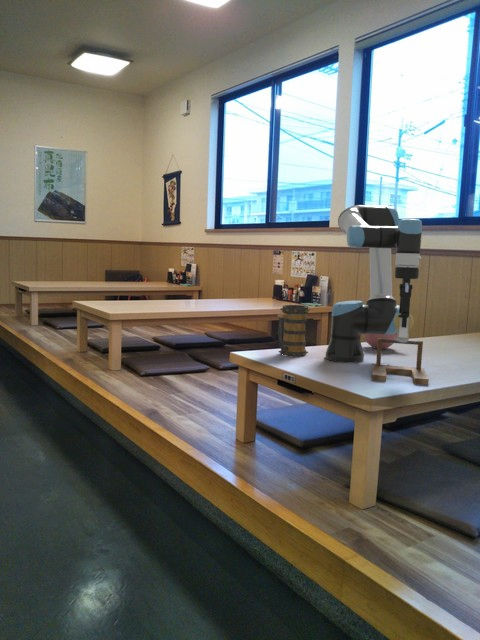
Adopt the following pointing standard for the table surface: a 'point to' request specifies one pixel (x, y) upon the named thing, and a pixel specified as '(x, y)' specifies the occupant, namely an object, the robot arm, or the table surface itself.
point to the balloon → (373, 338)
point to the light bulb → (397, 323)
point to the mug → (293, 330)
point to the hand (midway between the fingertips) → (402, 335)
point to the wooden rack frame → (416, 372)
